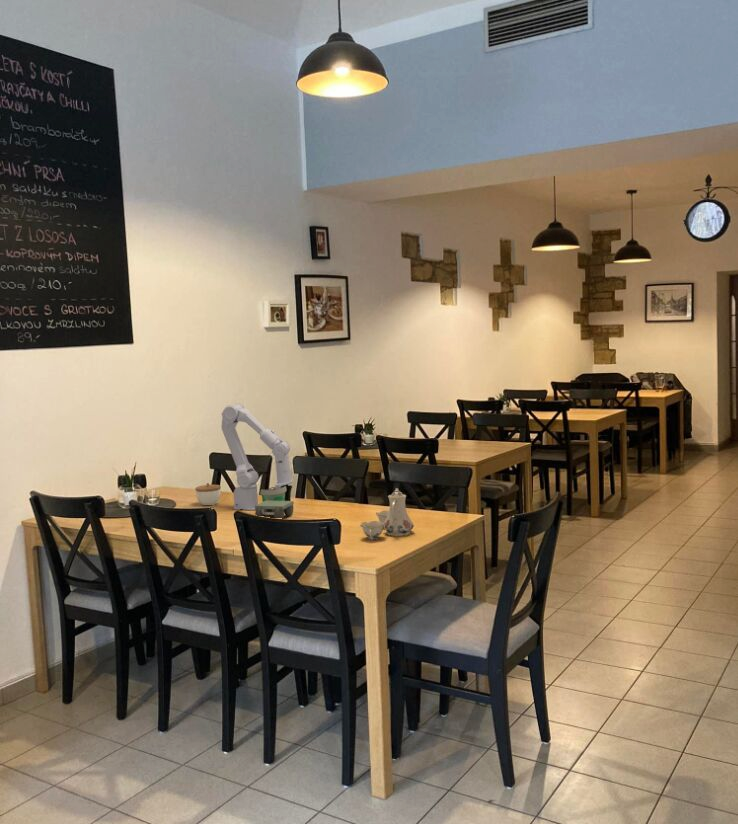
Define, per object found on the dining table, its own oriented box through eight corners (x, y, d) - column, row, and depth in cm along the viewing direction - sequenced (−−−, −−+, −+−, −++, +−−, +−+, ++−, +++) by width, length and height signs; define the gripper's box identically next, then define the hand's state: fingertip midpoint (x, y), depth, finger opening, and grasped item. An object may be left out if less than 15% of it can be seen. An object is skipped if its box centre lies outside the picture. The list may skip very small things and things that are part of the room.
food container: (271, 516, 323) (270, 491, 322) (261, 513, 327) (260, 489, 326) (293, 508, 333) (292, 485, 331) (283, 506, 337) (282, 482, 335)
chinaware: (378, 527, 302) (371, 484, 301) (421, 523, 298) (415, 479, 297) (359, 547, 275) (352, 499, 274) (407, 543, 271) (400, 494, 270)
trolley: (253, 521, 314) (252, 506, 313) (269, 513, 327) (268, 499, 327) (281, 522, 310) (280, 507, 309) (296, 514, 324) (295, 499, 323)
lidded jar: (224, 501, 356) (223, 480, 355) (217, 506, 345) (216, 485, 344) (201, 502, 357) (199, 481, 356) (193, 507, 346) (191, 485, 345)
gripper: (285, 473, 326) (288, 507, 328) (299, 467, 340) (302, 499, 341) (269, 474, 329) (272, 507, 330) (283, 467, 342) (286, 499, 344)
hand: (286, 503), depth 336 cm, fingers closed, pressing on food container
